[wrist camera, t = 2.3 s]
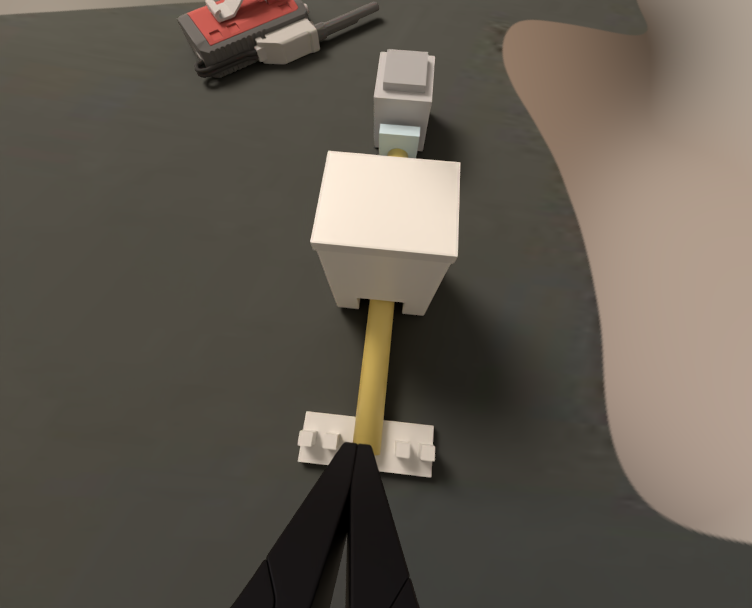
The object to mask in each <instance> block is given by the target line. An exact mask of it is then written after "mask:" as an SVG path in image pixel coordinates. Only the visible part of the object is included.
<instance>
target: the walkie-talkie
mask: <svg viewBox="0 0 752 608" xmlns="http://www.w3.org/2000/svg"><path fill="white" fill-rule="evenodd" d="M205 2H206V6H204V7H201V8H199V9H196V10H193V11H191V12H188V13H186V14H183V15H181V16H180V17H178V18H177V21H178V23H179V25H180V27H181V29H182V31H183V33H184V35H185V37H186V39H187V41H188V43H189V45H190V46H191V48H192V50H193V51H194V52H195V54H196V55H197V57H198V58H199V59H200V60H199V61H198V62H196V63H195V65H194V67H195V71H196V72H197V74H198V76H200V77H203V78H206V77H211V76H212V77H216V78H221V77H223V76H226V75H227V74H231V73H232V72H236V70H240V69H241V68H243V67H244V68H245V67H246V66H248V65H251V64H252V63H255V62H257V61H260V62H263V63H265V64H287V63H289V62H291V61H294V60H296V59H298V58H300V57H303V56H305V55H307V54H309V53H315V52H317V51H319V50H320V45H319V41H321V40H323V39H326V38H327V36H328V35H330V34H332V33H335V32H337V31H339V30H342V29H344V28H346V27H348V26H351V25H353V24H355V23H357V22H358V20H359V19H360V18H363V17H365V16H367V15H369V14H372V13H374V12H376V11H378V10H379V5H378V3H377V2H371V3H369V4H367V5H364V6H362V7H360V8H357V9H355V10H353V11H350V12H348V13H346V14H343V15H341V16H339V17H336V18H334V19H332V20H329V21H327V22H325V23H322V22H320V23H317V24H315V25H314V24H313V22H312V21H309V19H308V14H309V10H308V7H307V5H306V4H303V2H302V1H301V0H219V1H217V2H214V1H213V0H206V1H205Z"/></svg>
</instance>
